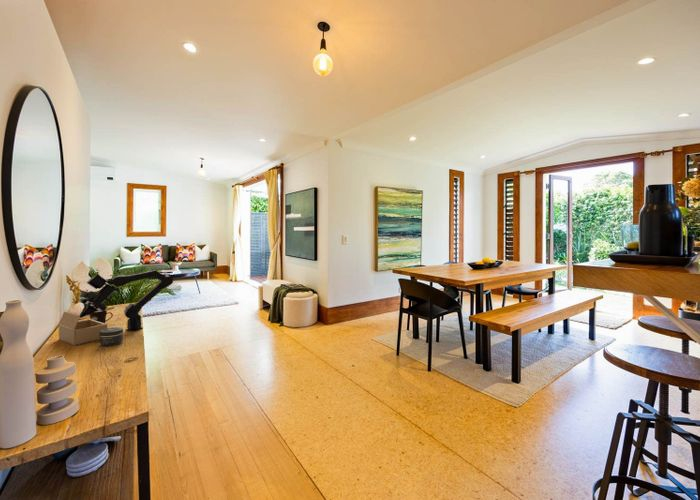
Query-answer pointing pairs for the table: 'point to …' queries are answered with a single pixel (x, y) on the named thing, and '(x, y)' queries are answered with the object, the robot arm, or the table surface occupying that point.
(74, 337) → the shipping carton
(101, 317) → the coffee mug
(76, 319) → the carton flap
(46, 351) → the table surface
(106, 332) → the jar
